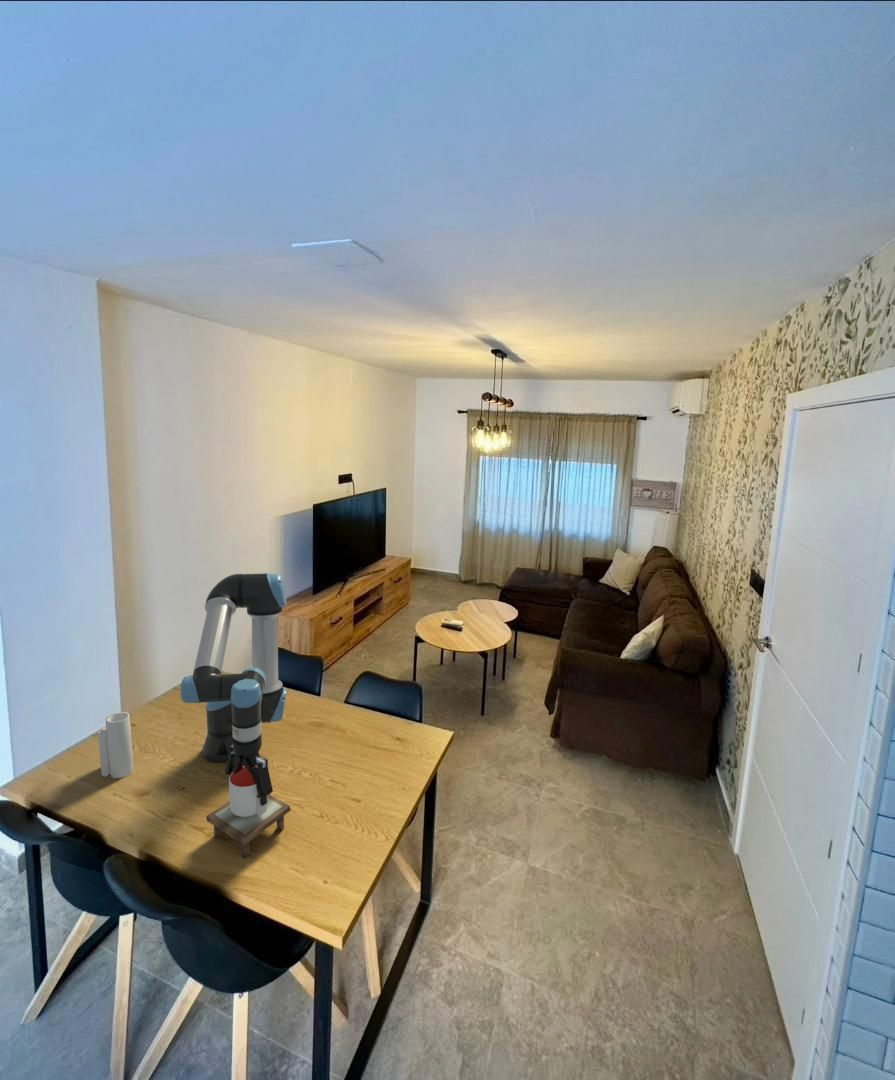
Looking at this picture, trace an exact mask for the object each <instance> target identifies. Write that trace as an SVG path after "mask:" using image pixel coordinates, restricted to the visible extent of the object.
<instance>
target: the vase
mask: <svg viewBox="0 0 895 1080" xmlns="http://www.w3.org/2000/svg"><path fill="white" fill-rule="evenodd" d="M130 717H131V716H130V713H129V712H127V711H120V712H114V713H113V714H110V715H109V716H107V717H106V718H105V726H103V727H102V728H101V729H100V730H98V731H97V737H98V738H97V739H98V749H99V750H98V751H99V758H100V759H99V761H100V772H101V776H102V777H109V776H110V775H111V776H110V778H112V777H113V778H112V779H115V778H119V779H123V778H126V777H128V776H129V774H130V775H131V774H132V773H133V772H134V770H133V769H134V758H133V744H132V730H131V719H130ZM132 771H133V772H132ZM108 775H109V776H108Z"/></svg>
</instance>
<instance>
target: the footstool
mask: <svg viewBox="0 0 895 1080" xmlns="http://www.w3.org/2000/svg"><path fill="white" fill-rule="evenodd" d="M290 812H291V805H289V804H288V803H286V802H284V801H282V800H280V799H278V798H277V797H275V796H273V795H271V793H270V794H269V795H268V796H267V804H266V812H265V813H263V814H262V815H260V816H259V817H258V816H257V814H255V815H253V816H249V817H240V816H236V815H235V814H233V813H232V811H231V809H230V800H229V801H227V802H226V803H224V804H222V805H220V807H218V808H216V809H215V810H212V811H211V812H210V813H208V814H207V815H206V821H207V822H208V823H210V824H211V825H213V838H214V839H217V840H218V839H220V838H221V837H222V836H223V833H225V834H226V835H228V836H229V837H231V838H232V839H234V840H235V841H236V842H238V843H240V844H241V857H242V858H243V859H247V858H249V857H250V855H251V850H250V849H251V848H250V847H251V846H250V841H252V840H253V839H255V838H256V837H257V836H259V835H260V834H261V833H263V832H264V831H265V830H266V829H268V828H270V826H272V825H273V824H275V823H276V830H277V831H278V832H280V831H283V830H284V829H285V815H286V814H288V813H290Z"/></svg>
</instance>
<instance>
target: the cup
mask: <svg viewBox="0 0 895 1080" xmlns="http://www.w3.org/2000/svg"><path fill="white" fill-rule="evenodd" d="M255 767H256V765H255V766H254V767H252V769H253V768H255ZM228 788H229V789H228V790H229V791H228V792H229V794H228V795H229V801H230V809H231V811H232V813H233V814H235V815H236V816H240V817H249V816H253V815H255V814H257V803H256V795H257V794H258V792H257V789H256V784H254V781H253V778H252V775H251V774H250V773H249V772H248V770H247V768H246V767H245V766H243V768H242V769H241V770H240V771H239V772H238V773H236V774H234V772H233V773H232V774H231V775H230V777H229V776H228Z"/></svg>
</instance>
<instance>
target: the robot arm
mask: <svg viewBox="0 0 895 1080" xmlns="http://www.w3.org/2000/svg"><path fill="white" fill-rule="evenodd" d="M286 606H287V593H286V585H285V581H284V578H283V576H282V575H281V574H278V573H267V572H266V573H234V574H231V575H228V576H226V577H224V578H222V580H220V581H218V583H216V585H214V586H213V588H212V589H211V590H210V592H209V593H208V595H207V598H206V600H205V604H204V610H205V613H206V615H205V620H204V623H203V629H202V631H201V637H200V641H199V645H198V650H197V654H196V655H197V656H196V659H195V663H194V666H193V667H194V668H193V671H192V672H193V673H192V674H191V675H186V676H184V677H183V679H182V680H181V684H180V699H181V702H183V703H185V704H200V703H202V704H203V703H205V705H206V706H205V710H206V725H207V726H206V727H207V734H206V737H205V740H204V743H203V746H202V756H203V758H204V759H205V760H207V761H209V762H211V763H226V764H225V770H224V775H226V776H228V778H229V777H230V775H231V774H232V773H233V772H234V774H236V773H238V772H239V771H240V770H241V769H242V768H243V766H245V767H246V768H247V770H248V772H249V773H250V774H251V775H252V778H253V781H254V784H256V789H257V792H258V794H257V795H256V803H257V816H258V817H259V816H260V815H262V814H263V813H265V812H266V804H267V796H268V795H269V794H270V795H271V793H273V792H274V790H273V785H272V780H271V776H270V771H269V767H268V764H269V760H268V759H267V758H264V759H262V758H261V756H260V750H261V748H262V732H263V729H262V724H271V723H275V722H280V721H282V720H283V718H284V713H285V712H284V711H285V706H286V705H285V704H286V697H287V691H288V689H287V687H283V682H282V681H281V680H279V647H278V646H279V641H278V640H279V638H278V637H279V635H278V633H279V632H278V630H279V629H278V628H279V627H278V625H279V624H278V616H279V615H280V614H281V613H282V612H283V608H286ZM237 608H238V609H239V608H240V609H241V608H243V609H246V614H247V615H248V616H249V617H251V651H252V652H251V655H252V658H251V659H252V660H251V661H252V662H251V663H252V666H251V667H248V668H246V669H244V670H242V672H241V673H227V674H222V670H223V665H224V660H225V659H224V658H225V654H226V649H227V643H228V637H229V634H230V633H229V632H230V628H231V627H230V626H231V621H232V616H233V615H234V614H235V613H236V610H237ZM255 765H256V767H255V768H253V769H252V767H254V766H255Z"/></svg>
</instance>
